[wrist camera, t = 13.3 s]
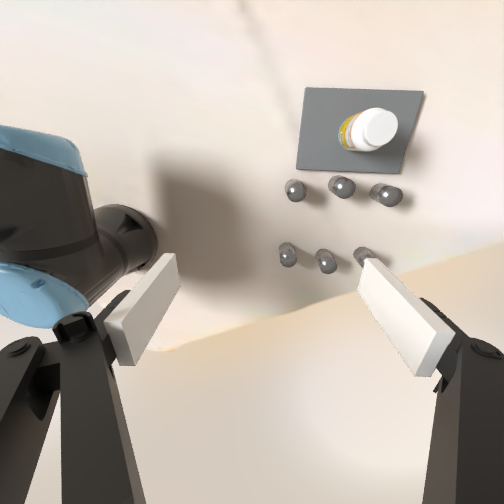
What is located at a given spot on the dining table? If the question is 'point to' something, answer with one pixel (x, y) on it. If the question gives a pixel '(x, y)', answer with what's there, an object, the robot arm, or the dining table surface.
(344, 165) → the slate mat
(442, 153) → the dining table surface
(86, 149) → the dining table surface
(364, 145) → the supplement bottle
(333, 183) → the spacer field
